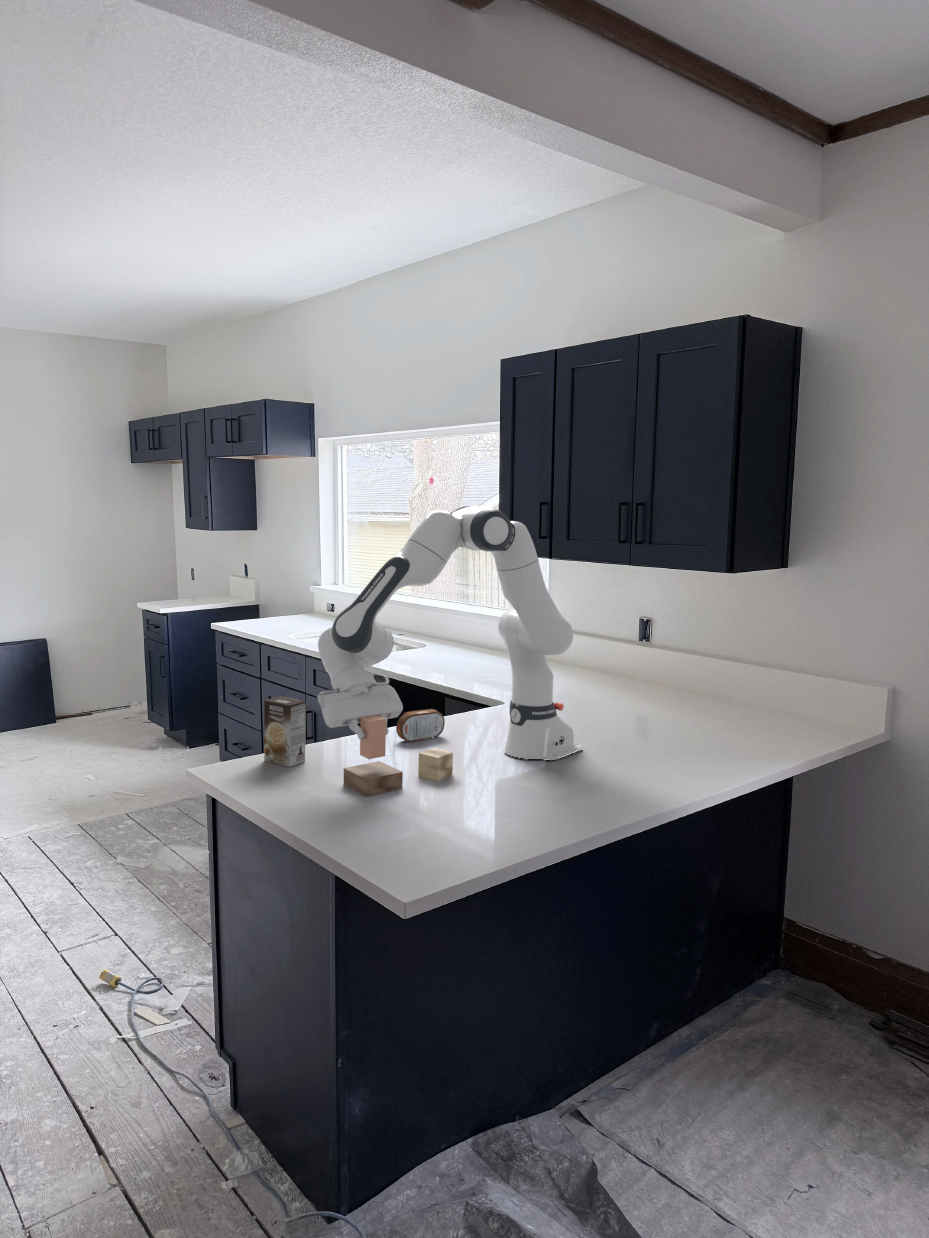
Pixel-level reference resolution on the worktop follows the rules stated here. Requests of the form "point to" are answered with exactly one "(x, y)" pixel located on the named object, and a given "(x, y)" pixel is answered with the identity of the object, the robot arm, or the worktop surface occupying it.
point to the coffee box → (284, 731)
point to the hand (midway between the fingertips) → (374, 736)
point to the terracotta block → (373, 737)
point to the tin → (420, 725)
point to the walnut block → (373, 778)
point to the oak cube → (435, 764)
